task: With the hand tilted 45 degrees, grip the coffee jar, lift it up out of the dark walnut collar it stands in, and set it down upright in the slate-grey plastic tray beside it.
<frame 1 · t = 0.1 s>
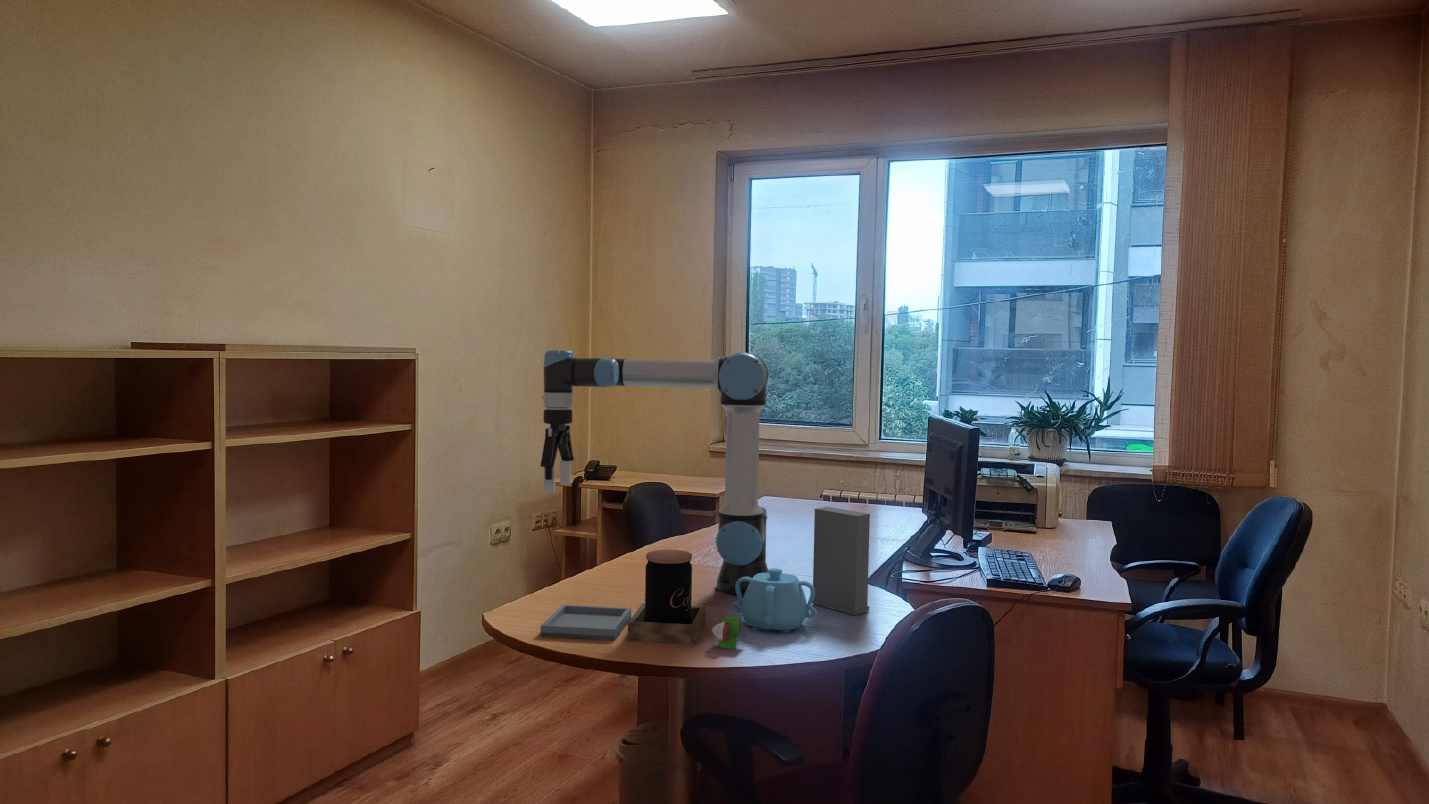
hand: (557, 488, 229), 28 cm above the table, tool pointing down, fingers open, 13 cm apart
upright grey slab box: (840, 608, 221), on the table
walnut collar: (667, 631, 199), on the table
coffee jar: (667, 632, 199), resting in walnut collar
geometric puzzle: (728, 647, 189), on the table
decorative pot: (774, 626, 205), on the table
grey tray: (587, 627, 201), on the table
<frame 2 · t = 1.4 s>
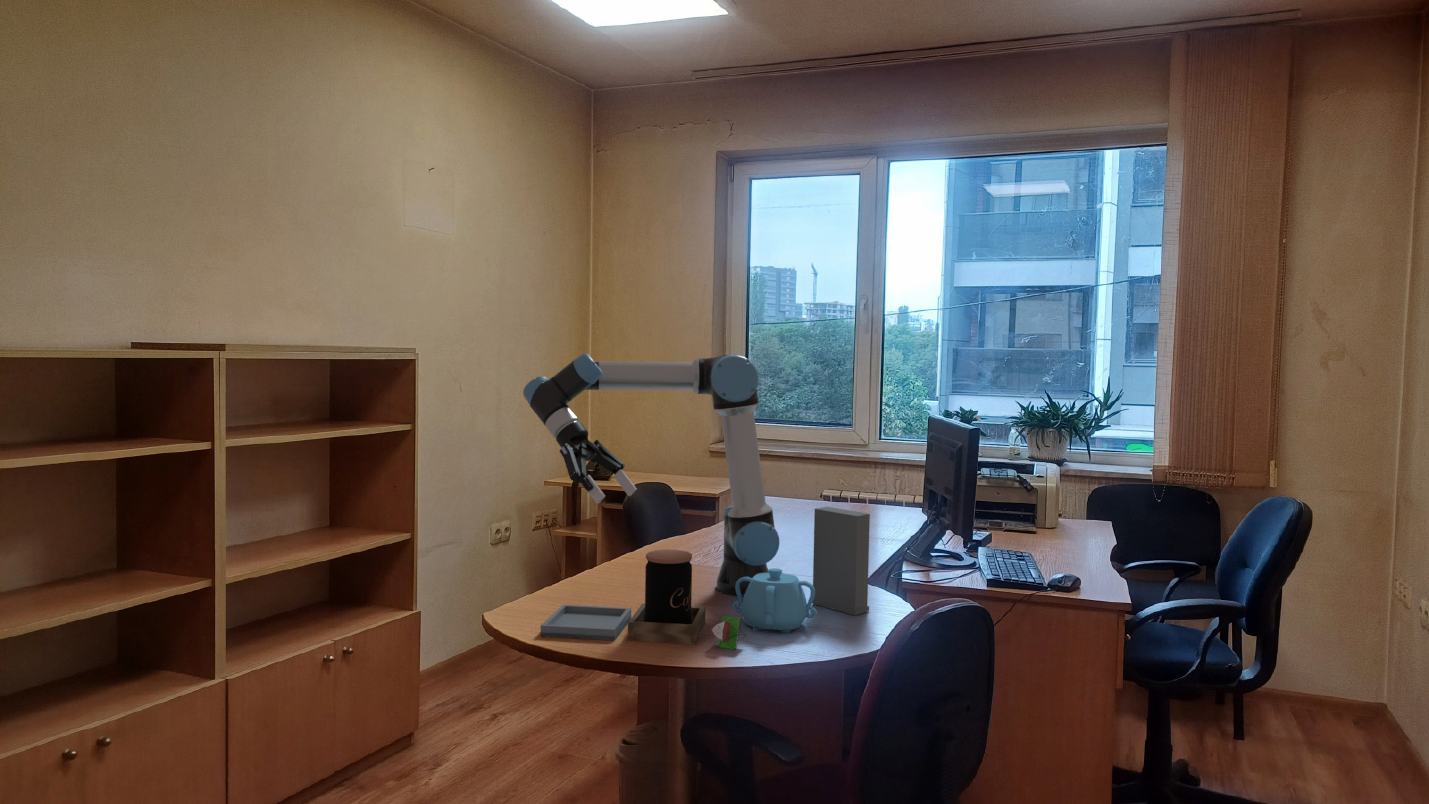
hand: (617, 496, 207), 30 cm above the table, tool tilted 45°, fingers open, 13 cm apart
nothing on the table moved.
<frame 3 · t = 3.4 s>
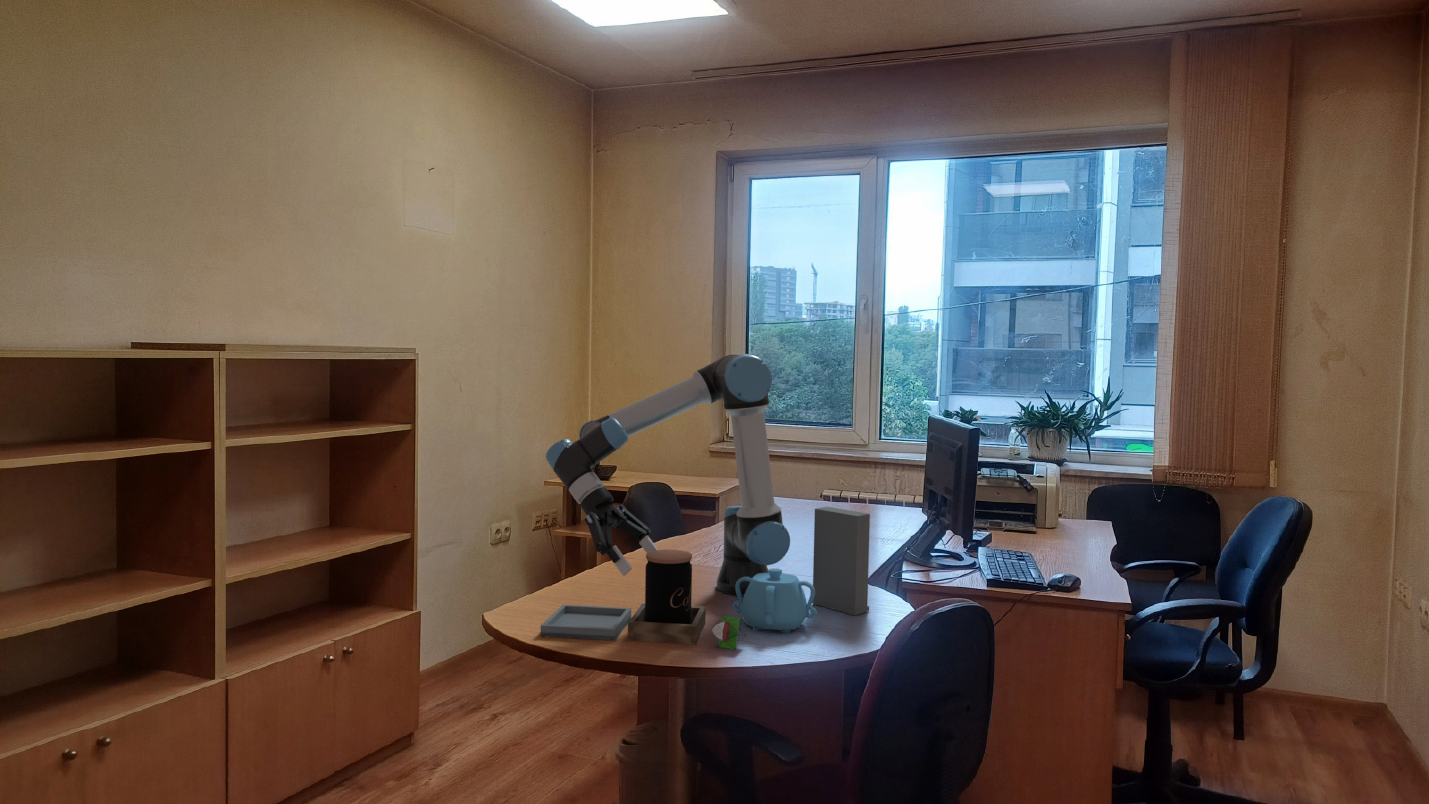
hand: (644, 566, 200), 15 cm above the table, tool tilted 45°, fingers open, 13 cm apart
nothing on the table moved.
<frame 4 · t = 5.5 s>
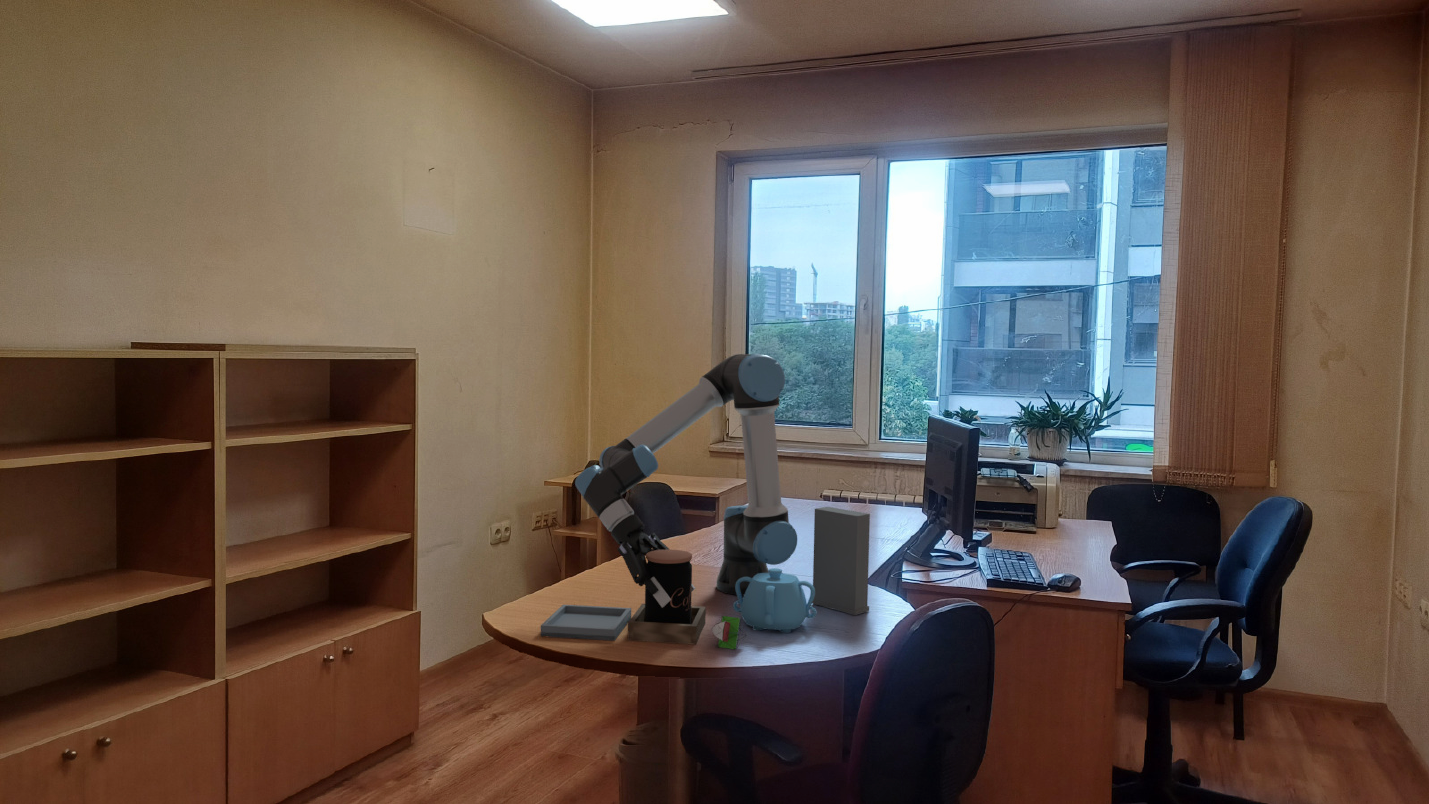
hand: (679, 597, 197), 8 cm above the table, tool tilted 45°, fingers closed on coffee jar, 11 cm apart
coffee jar: (667, 632, 199), resting in walnut collar, touching gripper
everything else where it was.
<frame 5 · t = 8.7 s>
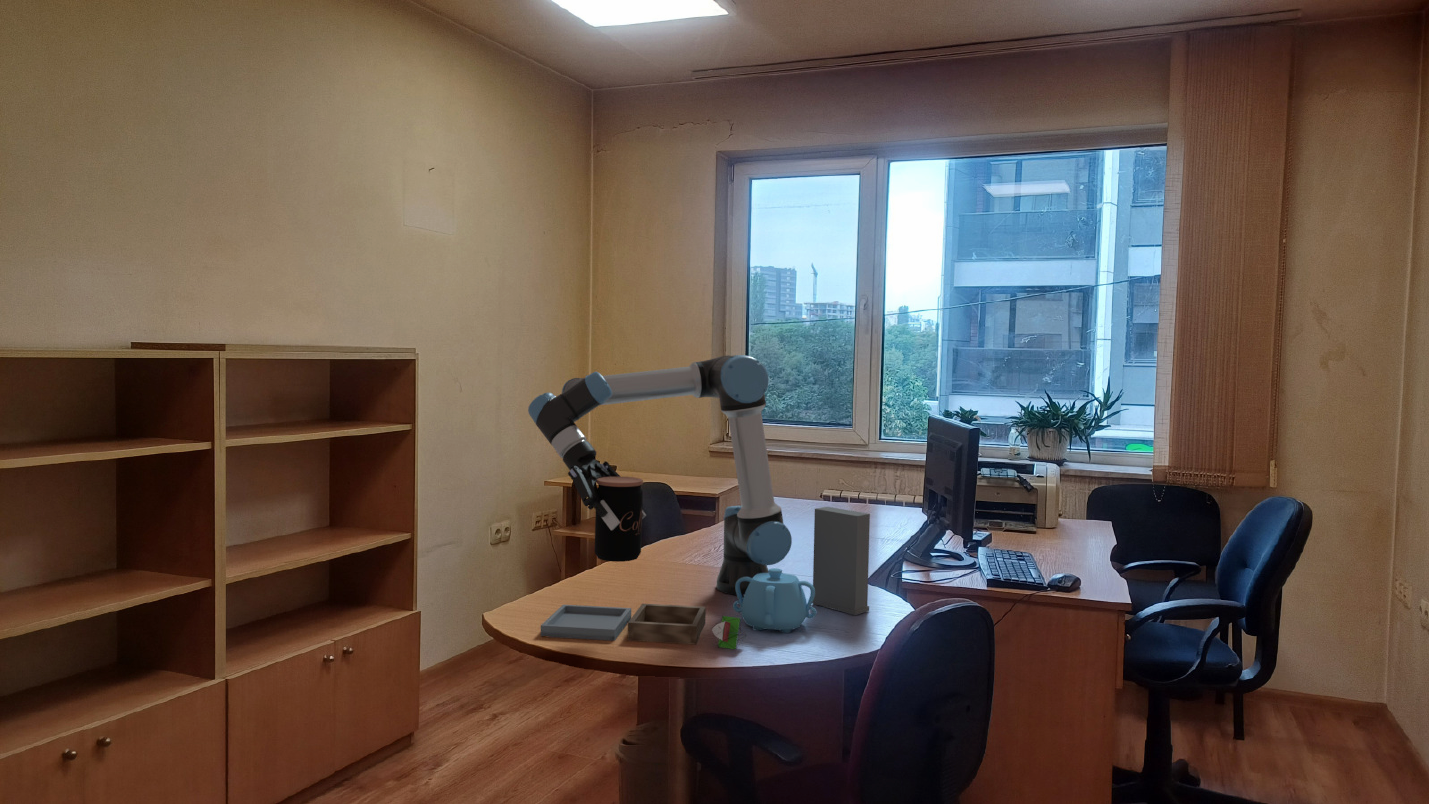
hand: (629, 522, 197), 25 cm above the table, tool tilted 45°, fingers closed on coffee jar, 11 cm apart
coffee jar: (617, 558, 199), point 17 cm above the table, touching gripper
everything else where it was.
when the fingers open (11 cm above the table, at t = 12.4 s): coffee jar drops 1 cm, resting on grey tray.
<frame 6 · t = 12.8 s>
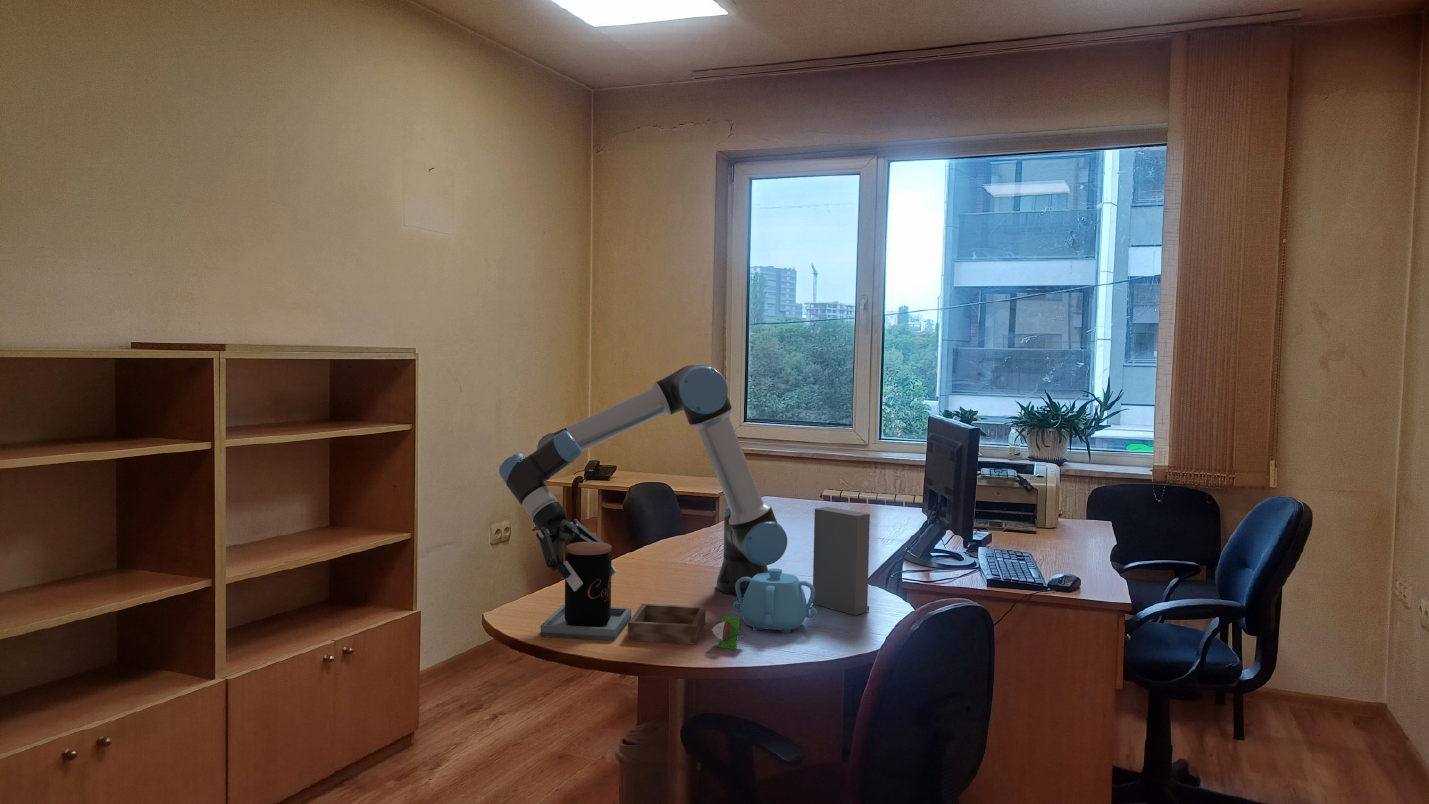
hand: (596, 581, 200), 11 cm above the table, tool tilted 45°, fingers open, 13 cm apart
coffee jar: (587, 623, 201), point 1 cm above the table, touching grey tray
everything else where it was.
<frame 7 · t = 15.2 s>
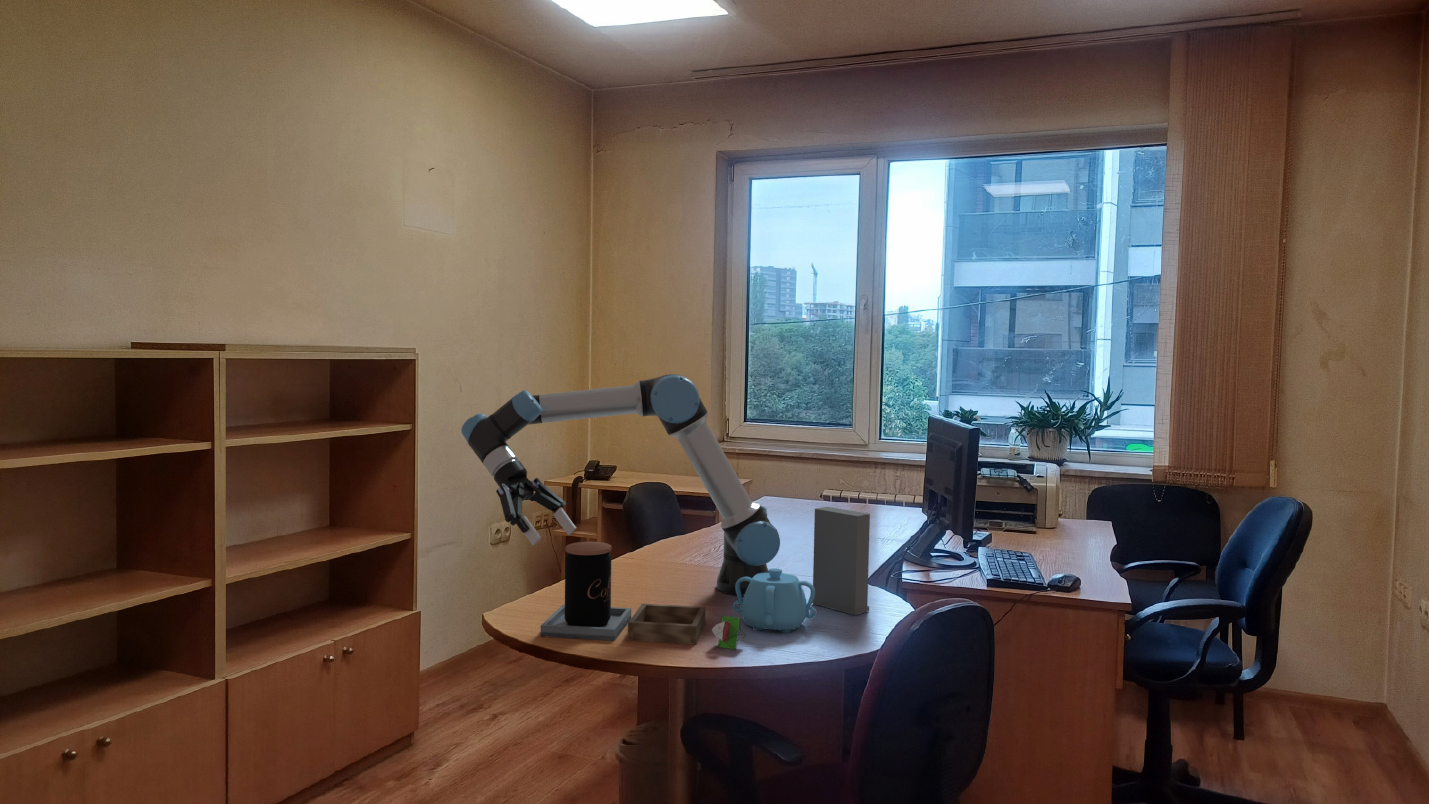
hand: (555, 536, 204), 20 cm above the table, tool tilted 45°, fingers open, 13 cm apart
nothing on the table moved.
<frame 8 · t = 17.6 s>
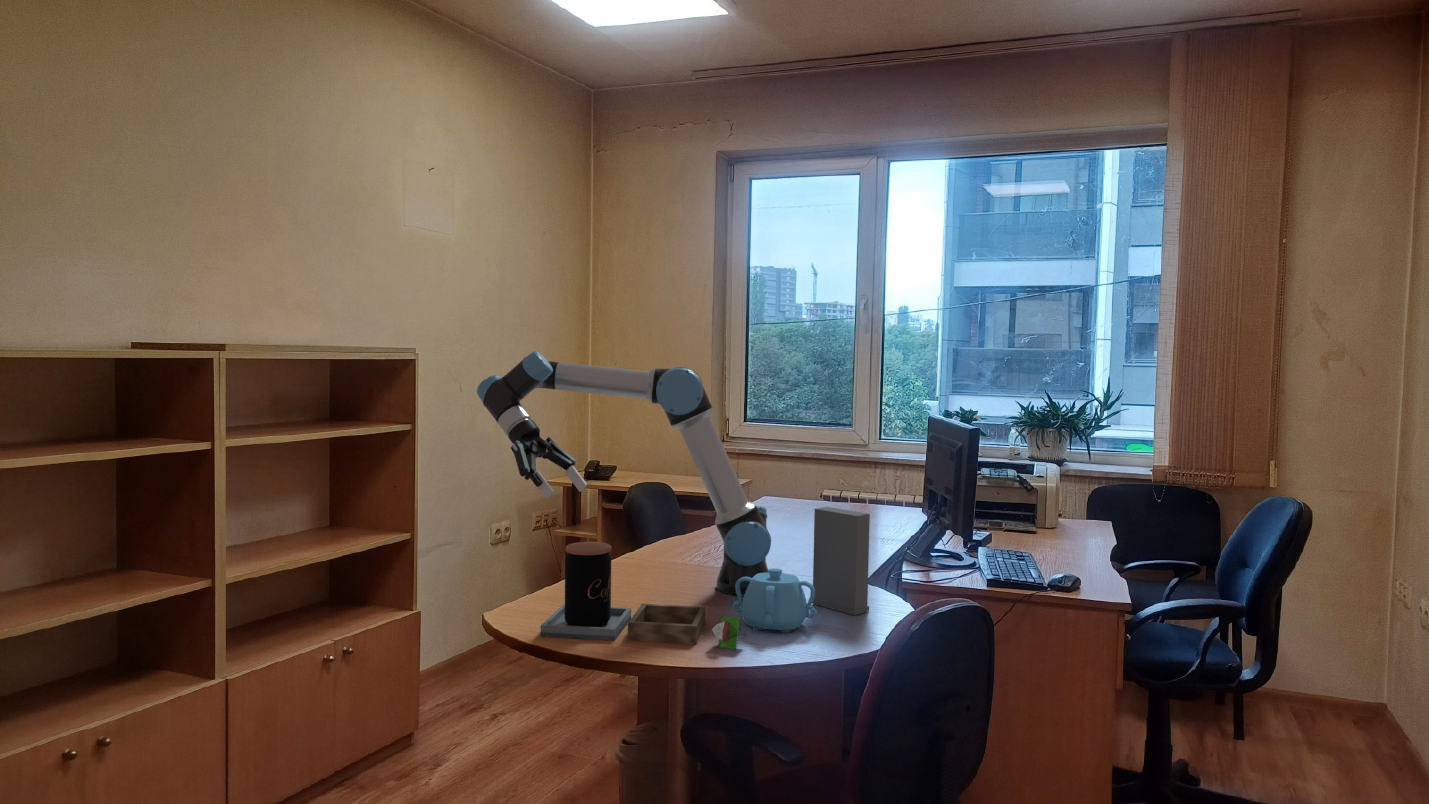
hand: (567, 491, 213), 30 cm above the table, tool tilted 45°, fingers open, 13 cm apart
nothing on the table moved.
at the end: coffee jar inside the target area on the grey tray (0.1 cm from its centre), point 0.8 cm above the grey tray's base; coffee jar tilted 0°; the gripper is holding nothing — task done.
